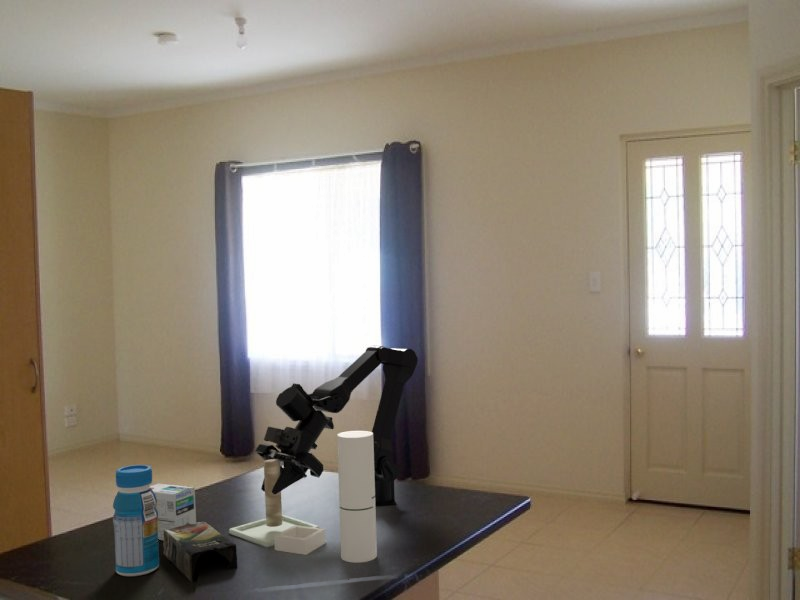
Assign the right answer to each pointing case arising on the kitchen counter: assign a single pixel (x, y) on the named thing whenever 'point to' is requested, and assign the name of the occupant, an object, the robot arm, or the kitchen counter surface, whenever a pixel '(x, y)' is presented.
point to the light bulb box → (174, 506)
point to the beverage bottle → (135, 522)
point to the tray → (266, 530)
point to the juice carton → (196, 546)
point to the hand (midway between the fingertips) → (267, 491)
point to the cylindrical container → (357, 496)
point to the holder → (300, 539)
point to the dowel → (272, 500)
